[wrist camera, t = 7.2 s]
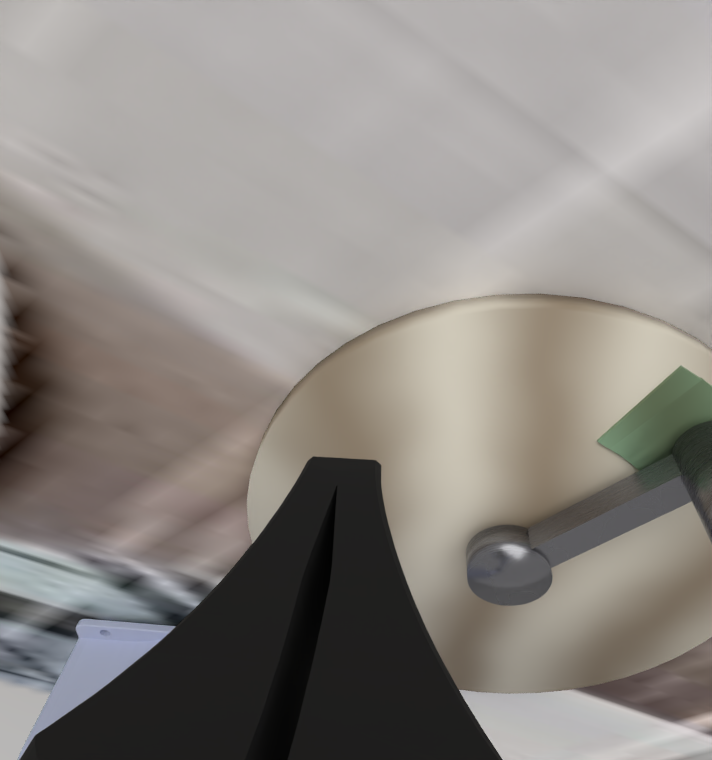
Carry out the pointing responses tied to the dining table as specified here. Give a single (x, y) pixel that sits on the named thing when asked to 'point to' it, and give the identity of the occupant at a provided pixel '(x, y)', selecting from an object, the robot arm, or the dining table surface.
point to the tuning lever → (590, 523)
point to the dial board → (516, 474)
